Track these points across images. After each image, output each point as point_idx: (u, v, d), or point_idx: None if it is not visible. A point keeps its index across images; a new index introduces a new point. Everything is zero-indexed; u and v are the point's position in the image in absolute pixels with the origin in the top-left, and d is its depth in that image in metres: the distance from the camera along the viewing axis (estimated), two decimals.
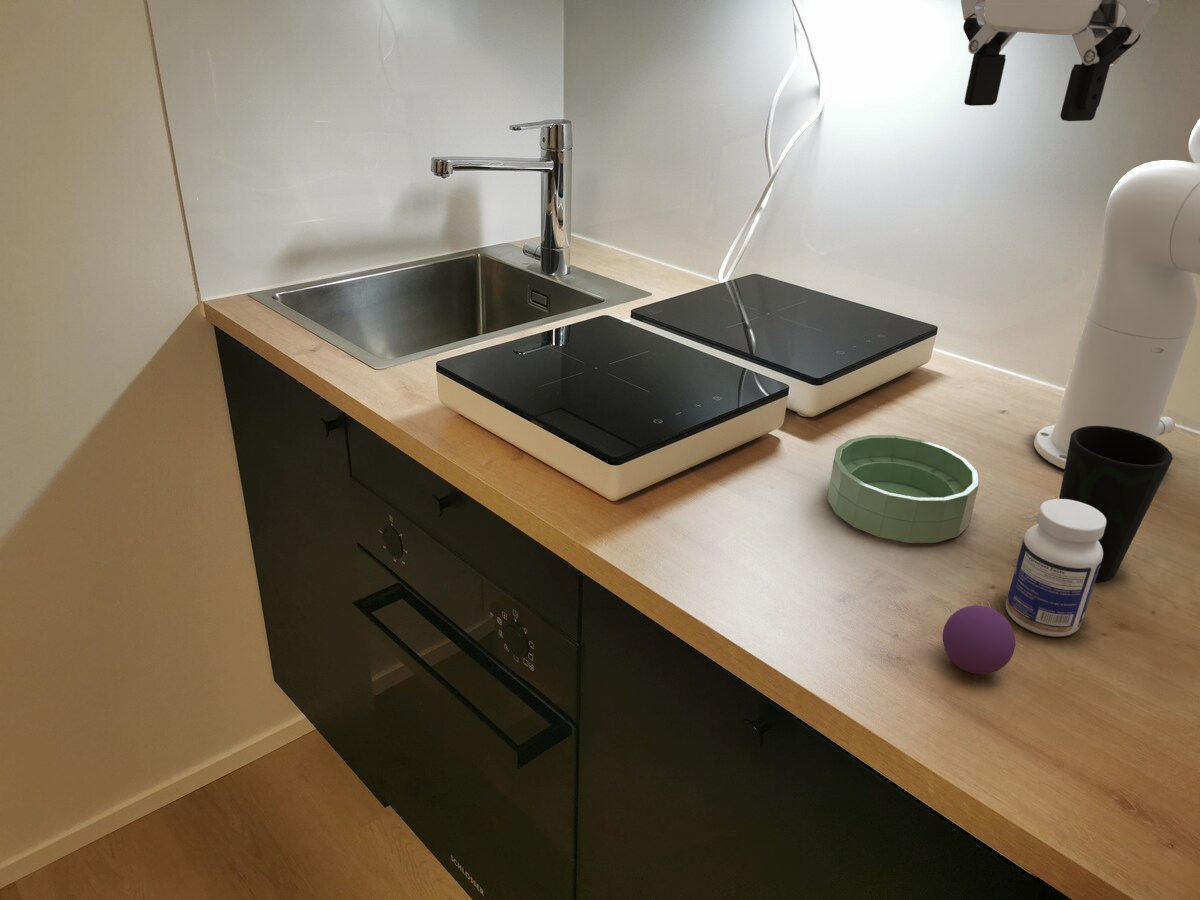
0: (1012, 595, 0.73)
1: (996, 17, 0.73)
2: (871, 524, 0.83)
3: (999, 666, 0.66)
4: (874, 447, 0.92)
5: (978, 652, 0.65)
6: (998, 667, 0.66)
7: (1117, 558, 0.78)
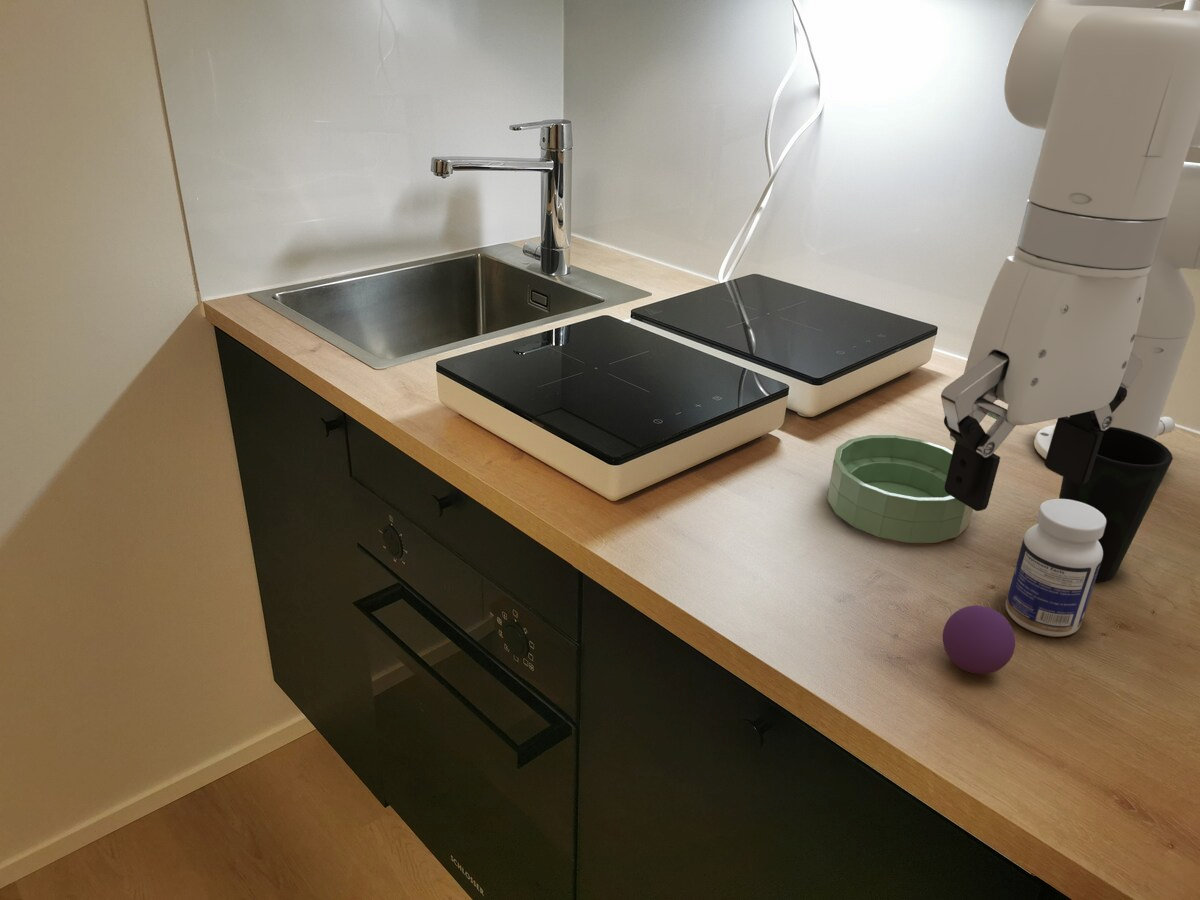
0: (1012, 595, 0.73)
1: (1034, 415, 0.56)
2: (871, 524, 0.83)
3: (999, 666, 0.66)
4: (874, 447, 0.92)
5: (978, 652, 0.65)
6: (998, 667, 0.66)
7: (1117, 558, 0.78)
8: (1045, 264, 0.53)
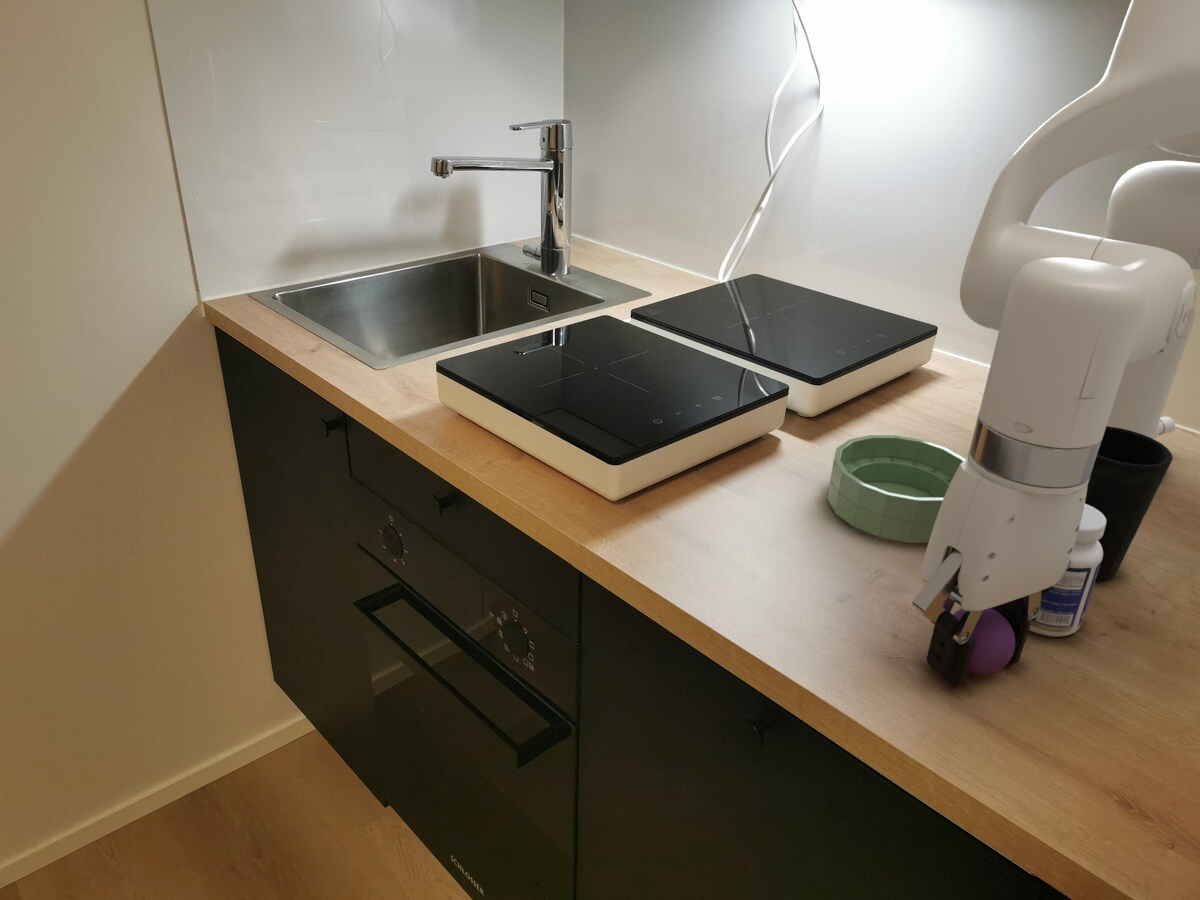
0: None
1: (986, 603, 0.62)
2: (871, 524, 0.83)
3: (999, 666, 0.66)
4: (874, 447, 0.92)
5: (978, 652, 0.65)
6: (998, 667, 0.66)
7: (1117, 558, 0.78)
8: (993, 478, 0.59)
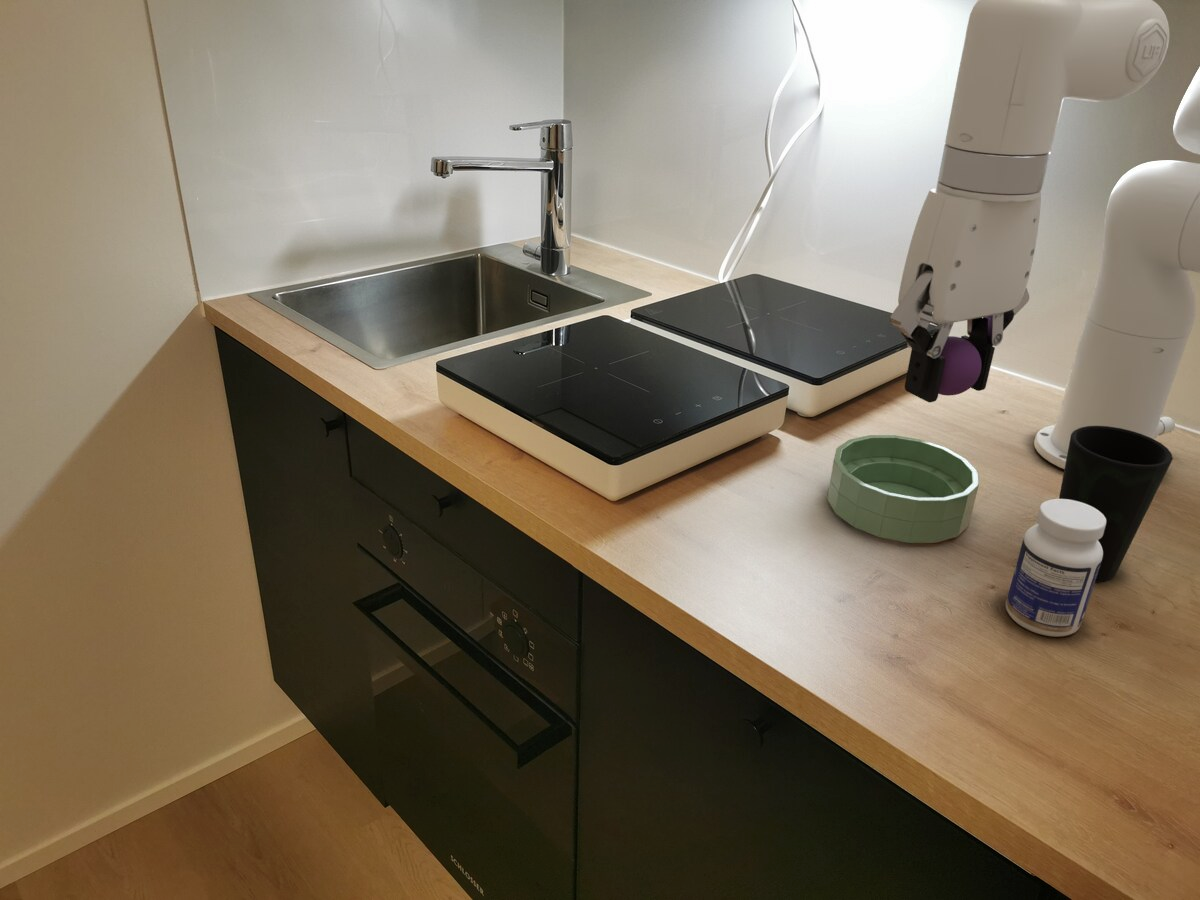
0: (1012, 595, 0.73)
1: (954, 314, 0.71)
2: (871, 524, 0.83)
3: (968, 383, 0.75)
4: (874, 447, 0.92)
5: (949, 369, 0.75)
6: (966, 384, 0.75)
7: (1117, 558, 0.78)
8: (958, 193, 0.68)
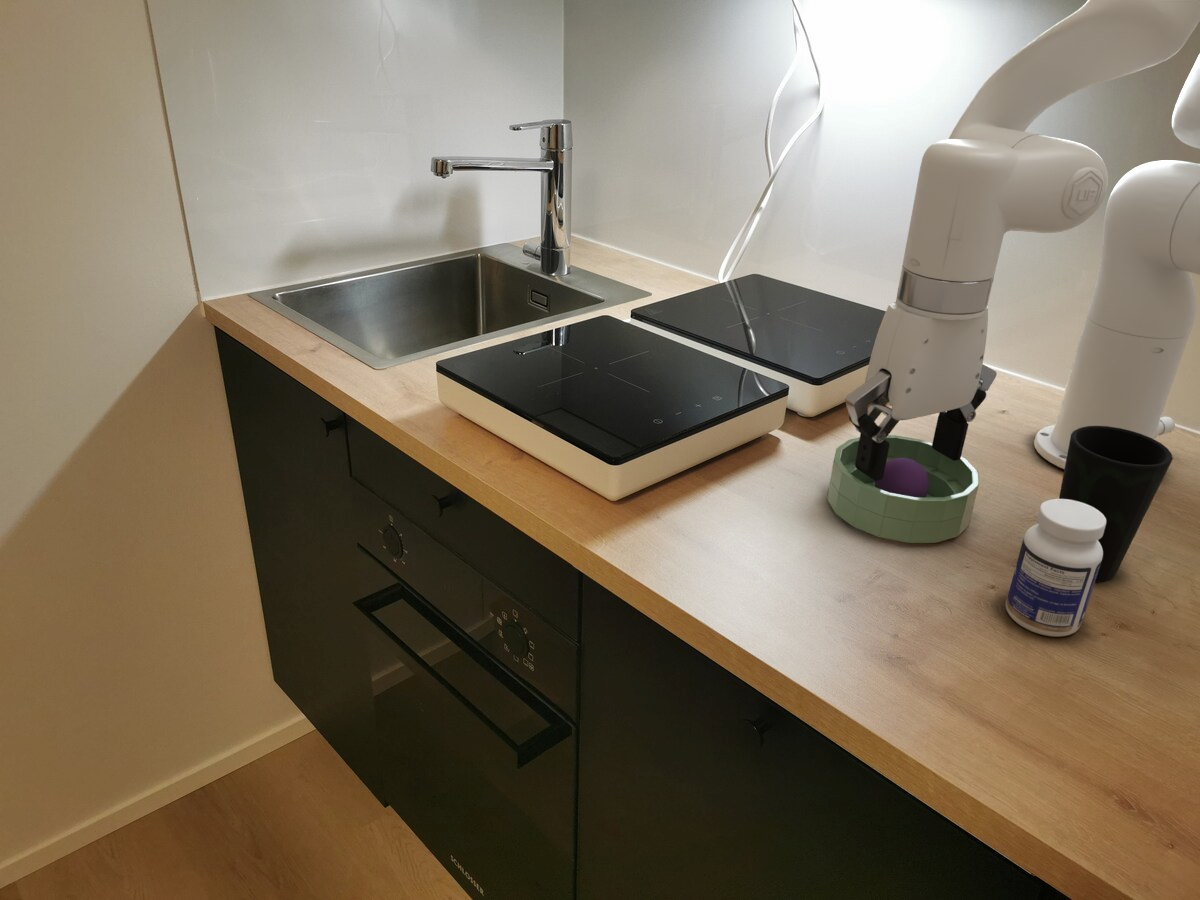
0: (1012, 595, 0.73)
1: (911, 413, 0.81)
2: (871, 524, 0.83)
3: None
4: None
5: (899, 489, 0.85)
6: None
7: (1117, 558, 0.78)
8: (912, 310, 0.77)
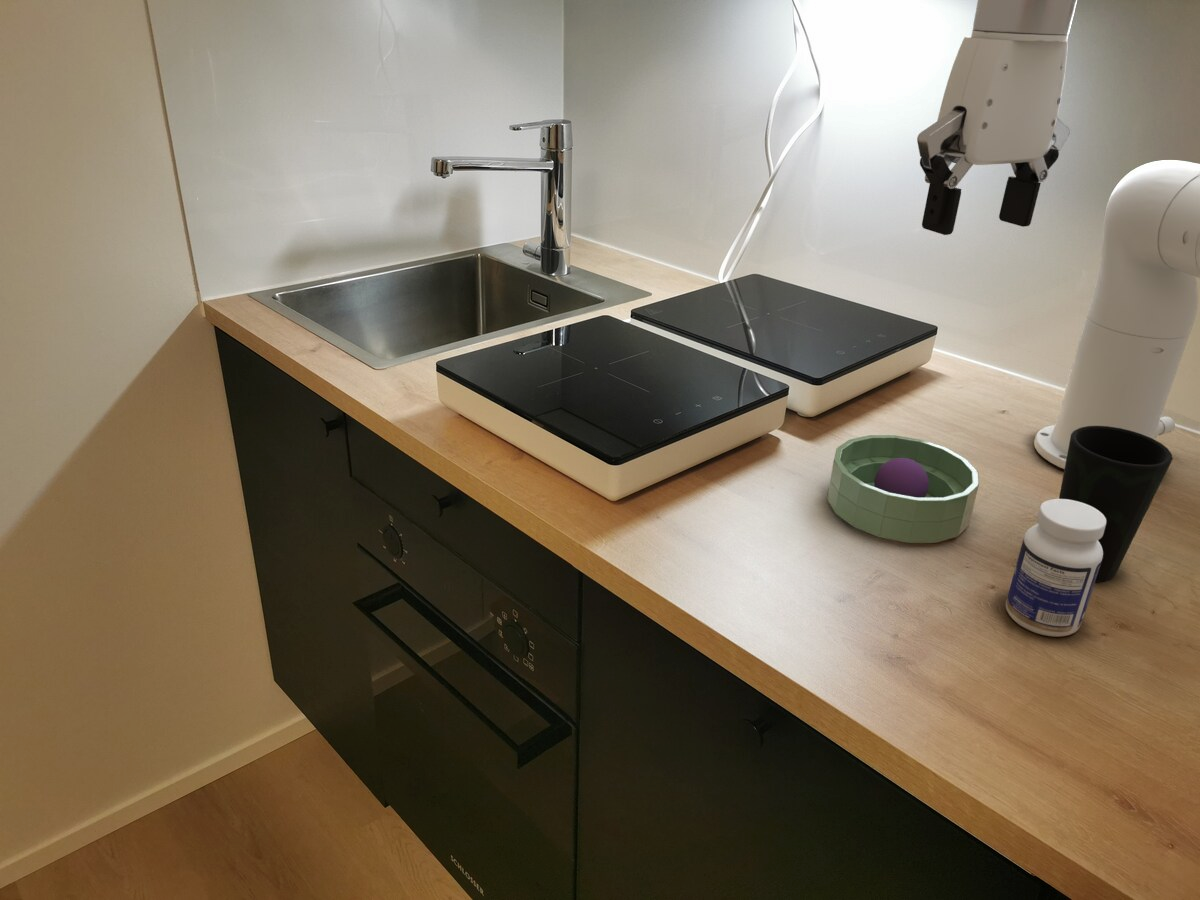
0: (1012, 595, 0.73)
1: (985, 154, 0.77)
2: (871, 524, 0.83)
3: None
4: (874, 447, 0.92)
5: (899, 489, 0.85)
6: None
7: (1117, 558, 0.78)
8: (991, 35, 0.74)
